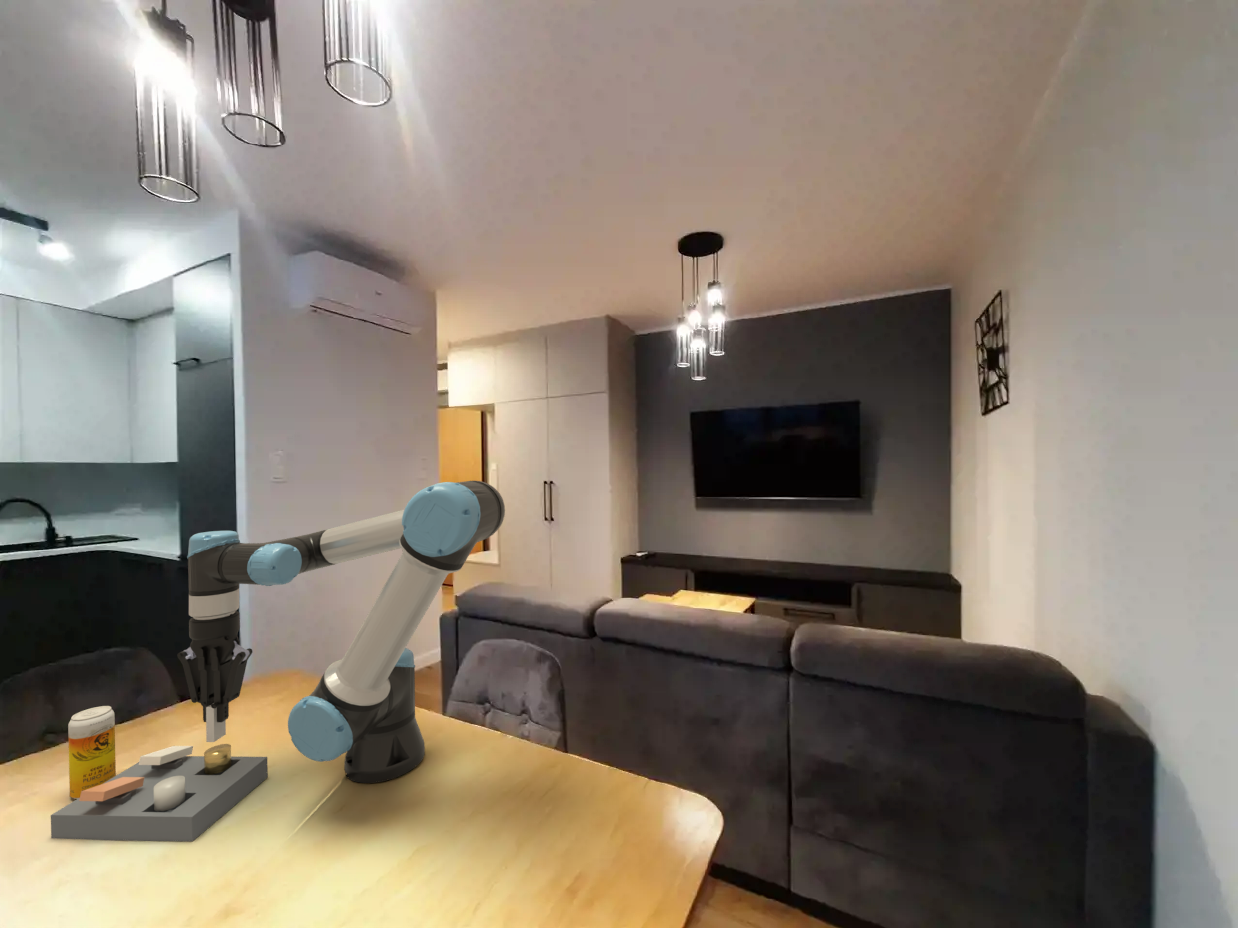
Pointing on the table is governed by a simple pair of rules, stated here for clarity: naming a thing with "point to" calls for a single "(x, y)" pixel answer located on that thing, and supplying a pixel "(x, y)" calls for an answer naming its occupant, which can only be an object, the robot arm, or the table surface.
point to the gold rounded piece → (217, 759)
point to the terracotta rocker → (111, 789)
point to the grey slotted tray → (141, 822)
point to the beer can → (91, 749)
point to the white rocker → (165, 755)
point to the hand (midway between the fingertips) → (216, 737)
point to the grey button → (169, 793)
